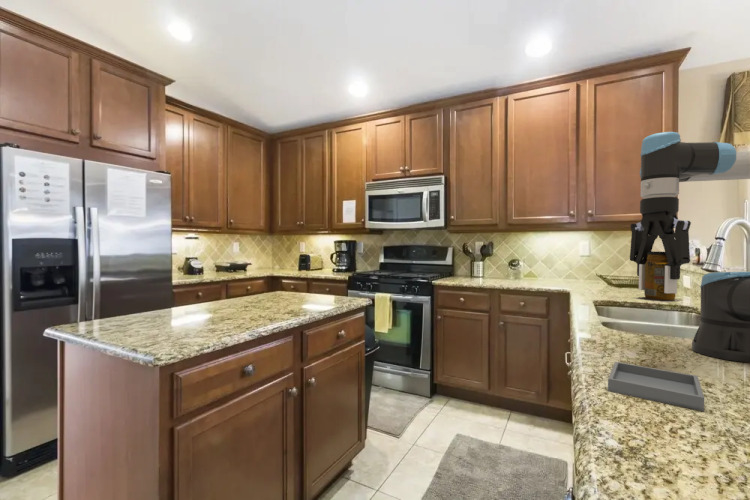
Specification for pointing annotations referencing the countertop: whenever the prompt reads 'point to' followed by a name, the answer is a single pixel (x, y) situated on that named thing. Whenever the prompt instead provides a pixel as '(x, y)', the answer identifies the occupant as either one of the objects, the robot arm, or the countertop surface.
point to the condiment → (656, 279)
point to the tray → (657, 385)
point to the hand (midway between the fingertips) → (657, 291)
